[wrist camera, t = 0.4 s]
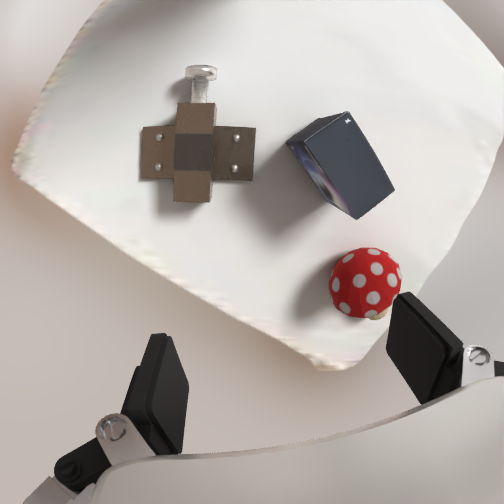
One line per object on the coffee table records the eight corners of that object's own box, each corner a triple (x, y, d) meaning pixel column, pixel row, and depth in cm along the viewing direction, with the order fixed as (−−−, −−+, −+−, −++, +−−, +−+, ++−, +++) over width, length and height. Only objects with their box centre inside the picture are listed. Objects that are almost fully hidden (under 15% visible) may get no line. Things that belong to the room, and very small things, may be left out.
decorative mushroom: (408, 339, 38) (400, 298, 29) (345, 344, 45) (314, 307, 35) (406, 280, 45) (394, 225, 35) (349, 288, 51) (322, 239, 41)
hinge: (146, 109, 32) (136, 105, 28) (256, 110, 34) (259, 105, 30) (143, 195, 36) (133, 201, 32) (250, 198, 38) (253, 204, 34)
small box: (281, 143, 36) (300, 140, 26) (319, 117, 35) (349, 107, 25) (325, 204, 39) (356, 223, 29) (360, 178, 38) (398, 189, 28)
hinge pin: (187, 73, 31) (183, 65, 27) (218, 73, 31) (216, 65, 28) (181, 170, 36) (175, 172, 32) (211, 170, 36) (209, 173, 32)
